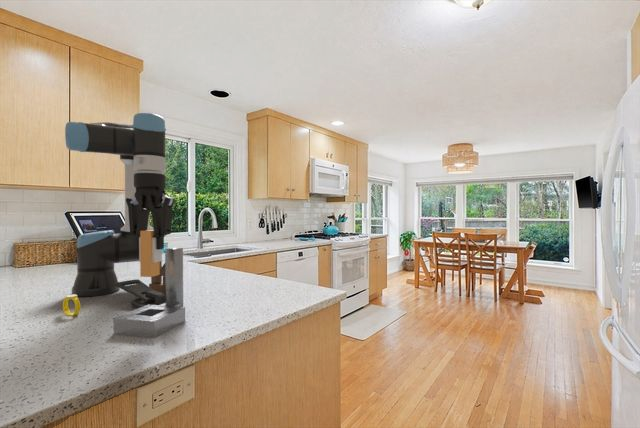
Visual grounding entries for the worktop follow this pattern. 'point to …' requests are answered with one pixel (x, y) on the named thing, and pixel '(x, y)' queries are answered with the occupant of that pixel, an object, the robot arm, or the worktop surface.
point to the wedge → (147, 255)
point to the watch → (77, 305)
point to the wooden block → (159, 280)
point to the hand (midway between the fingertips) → (150, 261)
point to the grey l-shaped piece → (161, 316)
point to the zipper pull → (142, 293)
